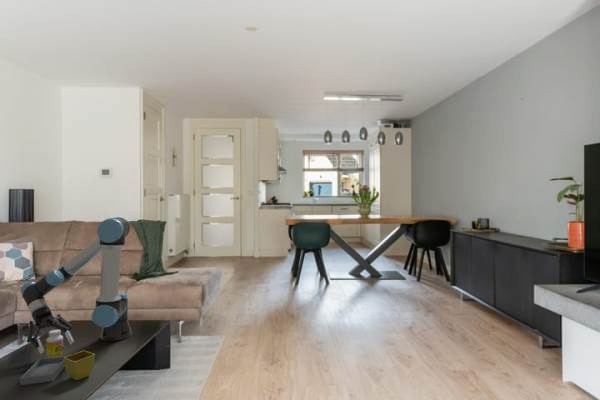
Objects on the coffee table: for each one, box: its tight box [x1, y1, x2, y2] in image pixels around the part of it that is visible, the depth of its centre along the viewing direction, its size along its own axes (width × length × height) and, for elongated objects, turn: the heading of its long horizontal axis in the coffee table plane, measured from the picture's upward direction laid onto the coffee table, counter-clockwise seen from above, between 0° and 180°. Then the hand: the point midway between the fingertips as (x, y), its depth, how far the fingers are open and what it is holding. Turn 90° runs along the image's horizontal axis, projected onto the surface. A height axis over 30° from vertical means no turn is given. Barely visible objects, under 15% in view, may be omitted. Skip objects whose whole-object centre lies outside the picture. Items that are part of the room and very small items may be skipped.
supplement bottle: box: [45, 329, 64, 358], centre depth 184 cm, size 7×7×13 cm
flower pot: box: [64, 350, 96, 381], centre depth 164 cm, size 9×9×9 cm
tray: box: [19, 355, 68, 386], centre depth 169 cm, size 12×20×3 cm, turn 15°
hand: (57, 347), depth 182 cm, fingers open, 12 cm apart
